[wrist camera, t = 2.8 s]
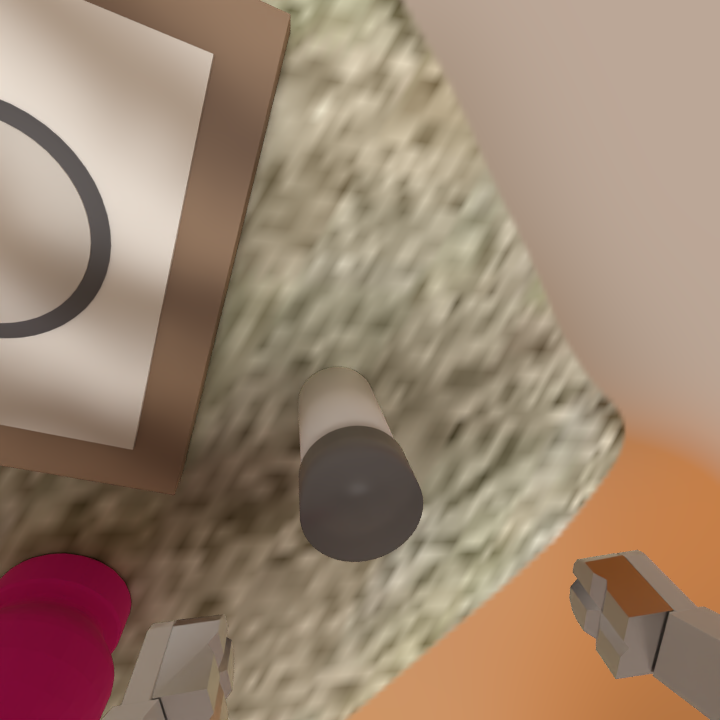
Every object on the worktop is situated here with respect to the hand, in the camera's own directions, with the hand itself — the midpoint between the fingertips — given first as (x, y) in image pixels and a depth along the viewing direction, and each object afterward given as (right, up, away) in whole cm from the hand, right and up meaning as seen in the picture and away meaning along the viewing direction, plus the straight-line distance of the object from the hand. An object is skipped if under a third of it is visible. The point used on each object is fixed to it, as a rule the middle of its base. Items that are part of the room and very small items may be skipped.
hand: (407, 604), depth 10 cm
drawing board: (-14, +11, +6) cm, 19 cm away
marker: (-2, +4, +11) cm, 12 cm away
